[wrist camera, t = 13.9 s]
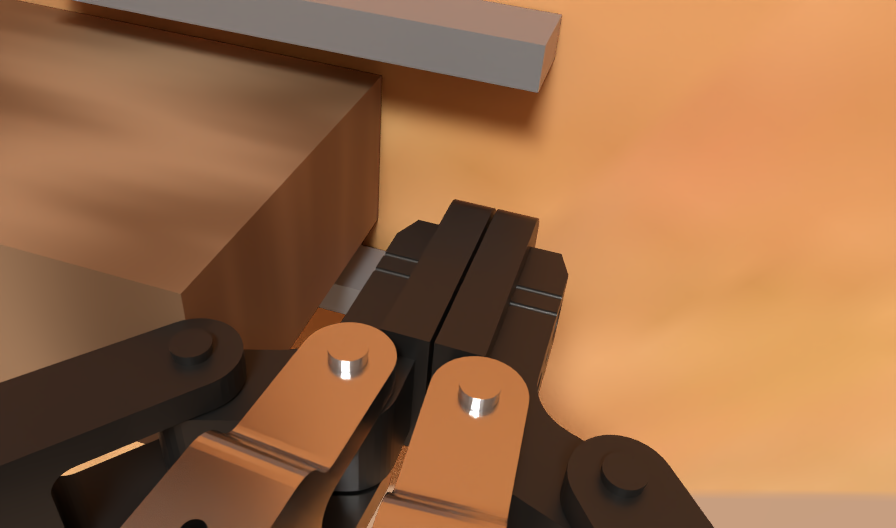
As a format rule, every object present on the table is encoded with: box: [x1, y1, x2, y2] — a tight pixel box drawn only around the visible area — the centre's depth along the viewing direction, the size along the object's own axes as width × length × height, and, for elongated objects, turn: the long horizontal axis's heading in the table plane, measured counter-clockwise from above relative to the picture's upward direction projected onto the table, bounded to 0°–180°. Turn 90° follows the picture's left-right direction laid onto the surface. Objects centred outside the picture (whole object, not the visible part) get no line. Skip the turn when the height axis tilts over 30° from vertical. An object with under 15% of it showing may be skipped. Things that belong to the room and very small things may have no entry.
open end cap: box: [74, 0, 562, 314], centre depth 15 cm, size 10×7×2 cm
